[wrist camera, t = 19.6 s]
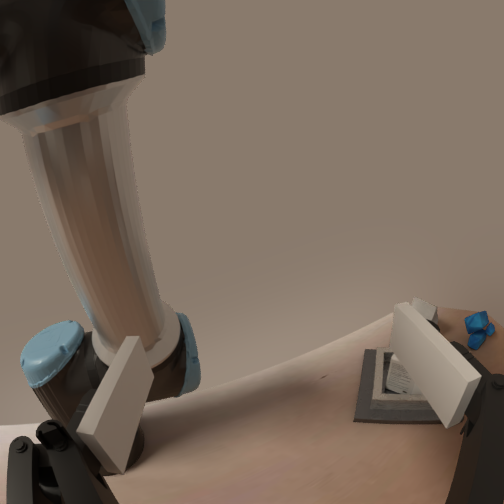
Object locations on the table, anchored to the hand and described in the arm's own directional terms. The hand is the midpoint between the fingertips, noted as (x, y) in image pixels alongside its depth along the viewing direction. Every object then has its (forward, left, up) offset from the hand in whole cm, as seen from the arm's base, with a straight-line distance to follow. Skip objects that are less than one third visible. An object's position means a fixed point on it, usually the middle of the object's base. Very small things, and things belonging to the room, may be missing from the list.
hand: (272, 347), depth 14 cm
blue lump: (+32, +46, -32) cm, 65 cm away
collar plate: (+14, +32, -32) cm, 47 cm away
